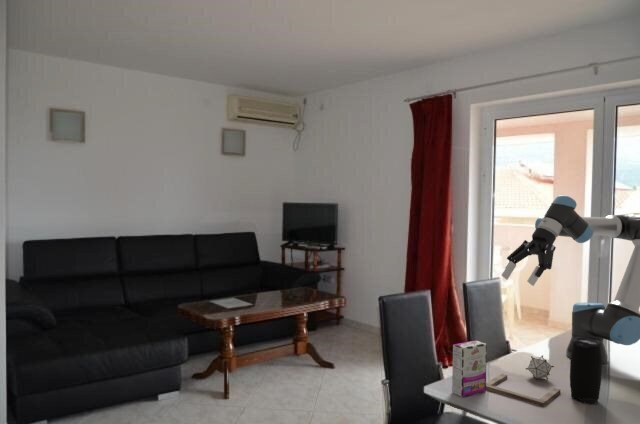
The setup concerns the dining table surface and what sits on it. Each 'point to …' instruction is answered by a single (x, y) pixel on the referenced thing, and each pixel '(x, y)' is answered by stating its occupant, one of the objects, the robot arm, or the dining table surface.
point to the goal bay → (541, 402)
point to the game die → (539, 367)
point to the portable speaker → (585, 370)
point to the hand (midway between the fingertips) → (516, 280)
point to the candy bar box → (469, 368)
